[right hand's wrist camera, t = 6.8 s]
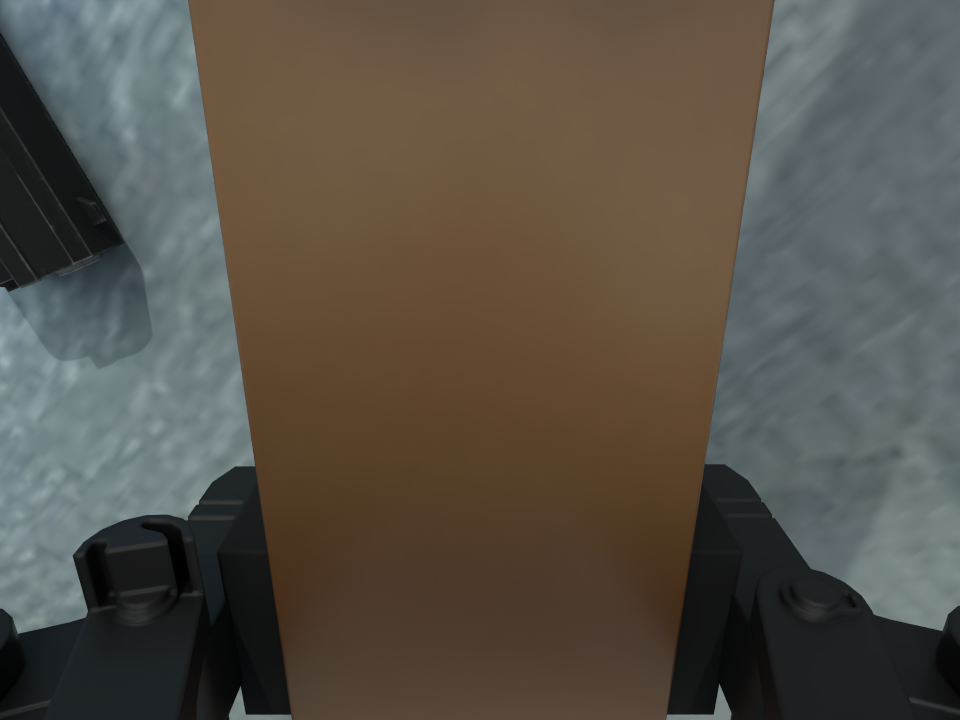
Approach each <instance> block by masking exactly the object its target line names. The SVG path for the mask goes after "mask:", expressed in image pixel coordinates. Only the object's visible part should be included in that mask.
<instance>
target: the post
mask: <svg viewBox="0 0 960 720" xmlns="http://www.w3.org/2000/svg"><path fill="white" fill-rule="evenodd" d="M188 3H189V10H190V16H191V23H192V30H193V37H194V44H195V51H196V58H197V65H198V72H199V79H200V86H201V93H202V100H203V107H204V114H205V120H206V127H207V134H208V141H209V148H210V155H211V162H212V169H213V176H214V183H215V190H216V197H217V204H218V211H219V218H220V225H221V231H222V238H223V245H224V252H225V259H226V266H227V273H228V280H229V287H230V294H231V301H232V308H233V315H234V322H235V329H236V335H237V342H238V349H239V356H240V363H241V370H242V377H243V384H244V391H245V398H246V405H247V412H248V419H249V426H250V433H251V439H252V446H253V453H254V460H255V467H256V474H257V481H258V488H259V495H260V502H261V509H262V516H263V523H264V530H265V537H266V543H267V550H268V557H269V564H270V571H271V578H272V585H273V592H274V599H275V606H276V613H277V620H278V627H279V634H280V641H281V647H282V654H283V661H284V668H285V675H286V682H287V689H288V696H289V703H290V710H291V717H292V720H666V717H667V711H668V704H669V698H670V691H671V684H672V678H673V671H674V664H675V658H676V651H677V644H678V638H679V631H680V624H681V618H682V611H683V605H684V598H685V591H686V585H687V578H688V571H689V565H690V558H691V551H692V545H693V538H694V532H695V525H696V518H697V512H698V505H699V498H700V492H701V485H702V478H703V472H704V465H705V459H706V452H707V445H708V439H709V432H710V425H711V419H712V412H713V405H714V399H715V392H716V385H717V379H718V372H719V366H720V359H721V352H722V346H723V339H724V332H725V326H726V319H727V312H728V306H729V299H730V293H731V286H732V279H733V273H734V266H735V259H736V253H737V246H738V239H739V233H740V226H741V219H742V213H743V206H744V200H745V193H746V186H747V180H748V173H749V166H750V160H751V153H752V146H753V140H754V133H755V127H756V120H757V113H758V107H759V100H760V93H761V87H762V80H763V73H764V67H765V60H766V54H767V47H768V40H769V34H770V27H771V20H772V14H773V7H774V0H188Z"/></svg>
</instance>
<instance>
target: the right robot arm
mask: <svg viewBox="0 0 960 720" xmlns="http://www.w3.org/2000/svg"><path fill="white" fill-rule="evenodd" d="M73 558H74V562H75V566H76V569H77V573H78V576H79V580H80V583H81V587H82V591H83V594H84V598H85V601H86V605H87V609H88V613H87V616H86V618H83V619H80V620H76V621H73V622H69V623H65V624H60V625H56V626H51V627H47V628H42V629H38V630H33V631H29V632H24V633H20V634H18V633H17V630H16V627H15V624H14V621H13V618H12V617H11V616H10V615H9V614H8V613H7V612H5V611H4V610H3V609H0V720H230V719H229V713H230V710H231V708H232V705H233V703H234V701H235V698H236V696H237V693H238V691H239V688H240V686H241V690H242V695H243V701H244V707H245V712H246V715H291V710H290V703H289V696H288V689H287V682H286V675H285V668H284V661H283V654H282V647H281V641H280V634H279V627H278V620H277V613H276V606H275V599H274V592H273V585H272V578H271V571H270V564H269V557H268V550H267V543H266V537H265V530H264V523H263V516H262V509H261V502H260V495H259V488H258V481H257V474H256V467H234V468H232V469H231V470H230V471H228V472H227V473H225V474H224V475H222V476H221V477H219V478H218V479H217V480H215V481H214V482H212V484H211V485H210V486H209V488H208V489H207V491H206V492H205V493H204V495H203V496H202V498H201V499H200V501H199V505H196V506H195V508H194V509H193V510H192V512H191V513H190V515H189V516H188V521H185V520H184V519H182V518H178V517H174V516H170V515H145V516H141V517H136V518H132V519H128V520H123V521H121V522H119V523H116V524H114V525H112V526H109V527H107V528H105V529H102V530H101V531H99V532H98V533H96V534H95V535H93V536H92V537H90V538H89V539H87V540H86V541H85V542H83V544H82V545H81V546H80V547H79V549H78V550H77V551H76V552H75V553H74V555H73ZM719 684H720V686H721V688H722V691H723V693H724V696H725V698H726V701H727V703H728V705H729V708H730V710H731V713H732V714H731V719H730V720H960V606H958V607H956V608H955V609H954V610H953V611H952V612H950V613H949V614H948V616H947V619H946V622H945V625H944V628H943V631H939V630H935V629H930V628H926V627H921V626H917V625H912V624H908V623H903V622H899V621H894V620H890V619H887V618H883V617H880V616H876V615H874V614H873V612H872V610H871V609H870V607H869V606H868V604H867V603H866V601H865V600H864V599H863V597H862V596H861V595H860V594H859V593H857V592H856V591H855V590H854V589H852V588H851V587H850V586H849V585H847V584H846V583H845V582H843V581H841V580H839V579H836V578H834V577H832V576H830V575H828V574H826V573H824V572H820V571H816V570H813V569H810V567H809V566H808V565H807V563H806V562H805V560H804V559H803V557H802V556H801V555H800V553H799V552H798V550H797V549H796V548H795V546H794V545H793V543H792V542H791V541H790V539H789V538H788V536H787V535H786V534H785V532H784V531H783V529H782V528H781V526H780V525H779V524H778V522H777V521H776V519H775V518H772V514H771V512H770V511H769V510H768V508H767V507H766V505H765V504H764V503H761V498H760V497H759V495H758V494H757V493H756V491H755V490H754V488H753V487H752V486H751V484H750V483H749V481H748V480H747V479H745V478H744V477H742V476H741V475H739V474H738V473H736V472H735V471H734V470H732V469H731V468H729V467H728V466H726V465H725V464H705V465H704V472H703V478H702V485H701V492H700V498H699V505H698V512H697V518H696V525H695V532H694V538H693V545H692V551H691V558H690V565H689V571H688V578H687V585H686V591H685V598H684V605H683V611H682V618H681V624H680V631H679V638H678V644H677V651H676V658H675V664H674V671H673V678H672V684H671V691H670V698H669V704H668V711H667V714H714V710H715V704H716V699H717V693H718V688H719Z"/></svg>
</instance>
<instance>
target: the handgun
mask: <svg viewBox="0 0 960 720" xmlns="http://www.w3.org/2000/svg"><path fill="white" fill-rule="evenodd" d="M123 243H124V242H123V240H122V238H121V237H120V235H119V233H118V232H117V230H116V228H115V227H114V225H113V223H112V222H111V220H110V218H109V217H108V215H107V213H106V212H105V210H104V208H103V207H102V205H101V203H100V202H99V200H98V198H97V197H96V195H95V193H94V192H93V190H92V188H91V187H90V185H89V183H88V182H87V180H86V178H85V177H84V175H83V173H82V172H81V170H80V168H79V167H78V165H77V163H76V162H75V160H74V158H73V157H72V155H71V153H70V152H69V150H68V148H67V147H66V145H65V143H64V142H63V140H62V138H61V137H60V135H59V133H58V132H57V130H56V128H55V127H54V125H53V123H52V122H51V120H50V118H49V117H48V115H47V113H46V112H45V110H44V108H43V107H42V105H41V103H40V102H39V100H38V98H37V97H36V95H35V93H34V92H33V90H32V88H31V87H30V85H29V83H28V82H27V80H26V78H25V77H24V75H23V73H22V72H21V70H20V68H19V67H18V65H17V63H16V62H15V60H14V58H13V57H12V55H11V53H10V52H9V50H8V48H7V47H6V45H5V43H4V42H3V40H2V38H1V37H0V287H5V288H6V289H7V290H8V292H9V291H12V290H14V289H17V288H20V287H21V288H24V287H27V286H29V285H31V284H34V283H36V282H38V281H41V280H43V279H45V278H46V277H47V276H49V275H51V274H54V273H57V275H58V276H60V277H62V276H65V275H67V274H70V273H72V272H74V271H77V270H79V269H82V268H84V267H86V266H89V265H91V264H93V263H95V262H98V261H100V260H101V257H100V255H99V254H101V253H103V252H106V251H108V250H110V249H112V248H115V247H117V246H119V245H121V244H123Z"/></svg>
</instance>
